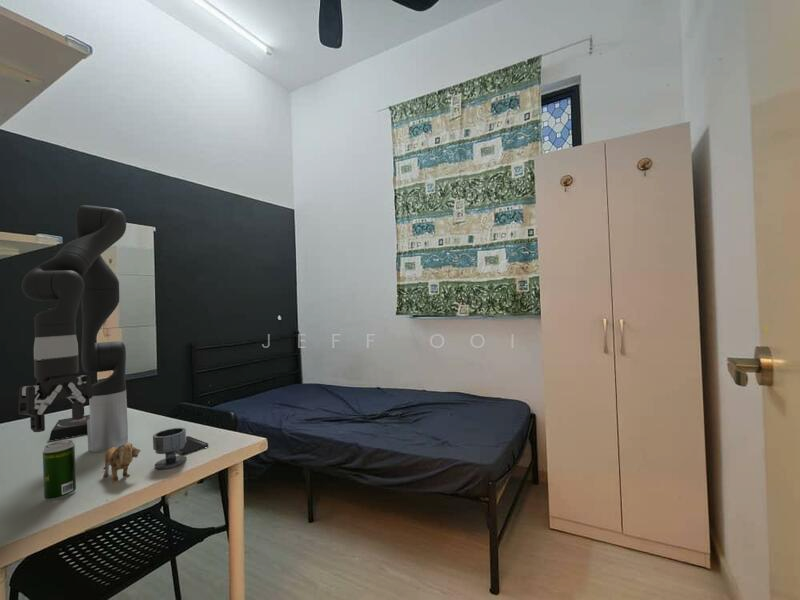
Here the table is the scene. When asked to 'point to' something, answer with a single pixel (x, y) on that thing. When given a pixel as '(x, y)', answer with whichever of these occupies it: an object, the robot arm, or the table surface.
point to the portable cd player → (69, 428)
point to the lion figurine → (119, 460)
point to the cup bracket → (169, 447)
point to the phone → (192, 445)
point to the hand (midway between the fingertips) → (59, 425)
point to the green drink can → (59, 470)
